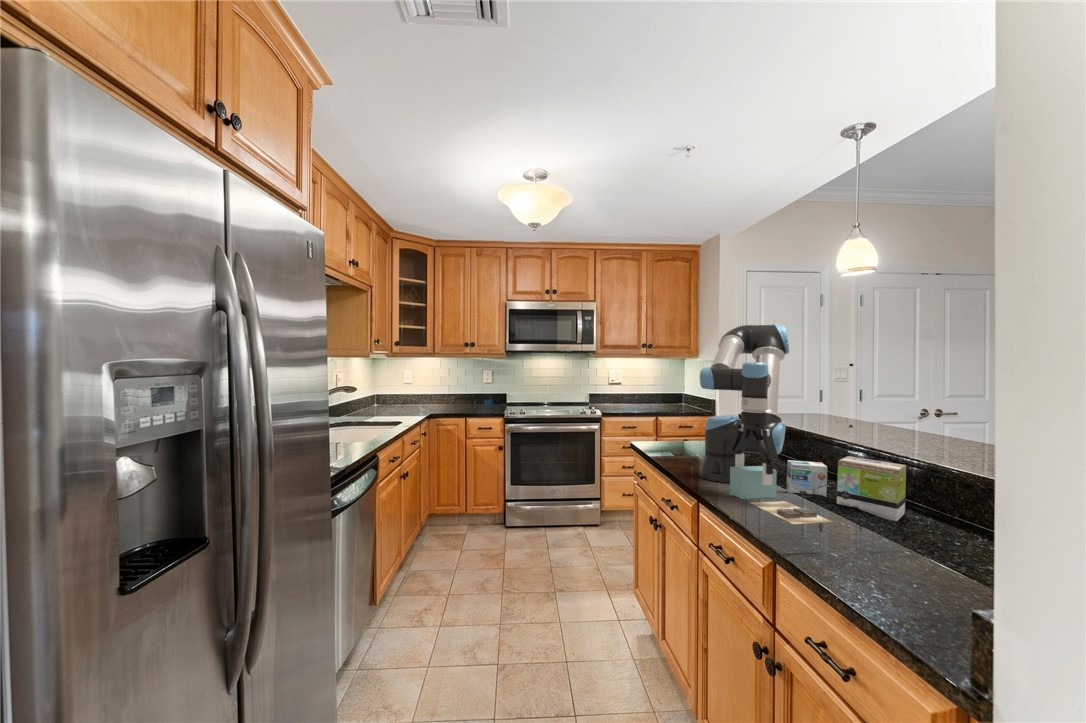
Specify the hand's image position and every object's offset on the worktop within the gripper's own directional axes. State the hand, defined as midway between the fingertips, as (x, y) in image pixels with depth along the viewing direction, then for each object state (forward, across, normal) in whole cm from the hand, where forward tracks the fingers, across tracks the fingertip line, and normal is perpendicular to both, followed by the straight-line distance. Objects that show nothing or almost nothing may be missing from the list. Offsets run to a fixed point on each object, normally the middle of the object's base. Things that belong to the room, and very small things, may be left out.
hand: (752, 479), depth 144 cm
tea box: (+7, +15, +28) cm, 33 cm away
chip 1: (+5, +19, -2) cm, 19 cm away
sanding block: (+7, 0, 0) cm, 7 cm away
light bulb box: (+7, -2, +21) cm, 22 cm away
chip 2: (+5, +19, +3) cm, 20 cm away
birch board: (+7, +16, 0) cm, 17 cm away
